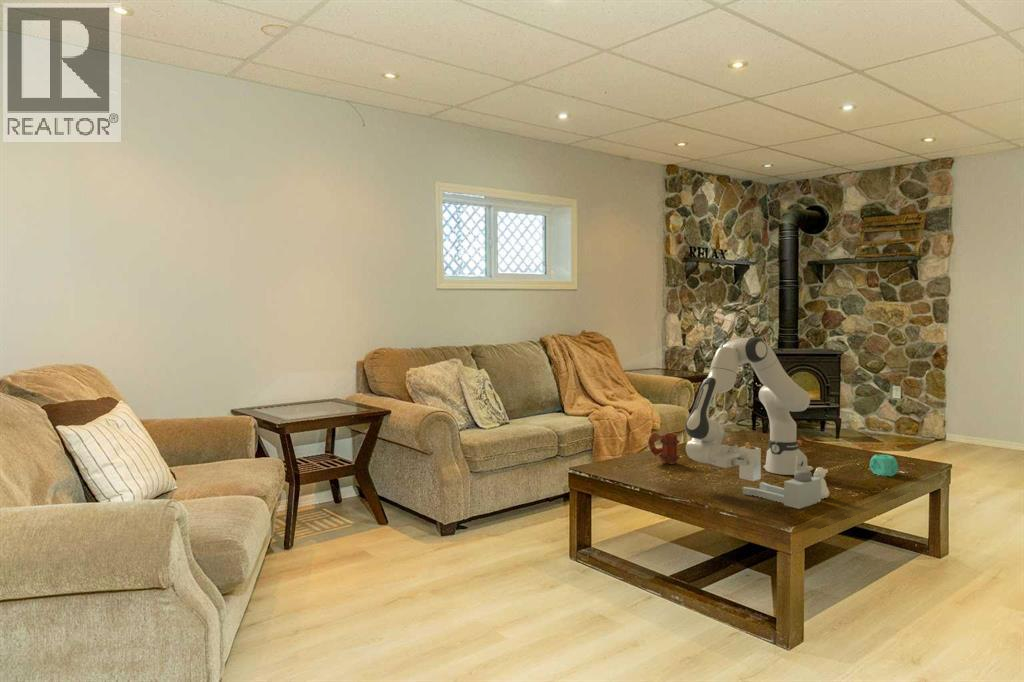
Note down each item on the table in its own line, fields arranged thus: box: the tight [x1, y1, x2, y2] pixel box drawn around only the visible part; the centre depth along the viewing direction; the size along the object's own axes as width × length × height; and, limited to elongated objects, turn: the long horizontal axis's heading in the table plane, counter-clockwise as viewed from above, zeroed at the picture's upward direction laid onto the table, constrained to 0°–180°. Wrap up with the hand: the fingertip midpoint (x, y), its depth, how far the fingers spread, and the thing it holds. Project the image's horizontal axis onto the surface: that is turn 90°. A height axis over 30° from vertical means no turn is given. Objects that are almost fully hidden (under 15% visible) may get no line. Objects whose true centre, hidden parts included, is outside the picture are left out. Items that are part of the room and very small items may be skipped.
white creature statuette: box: [812, 466, 830, 500], centre depth 265 cm, size 10×9×12 cm
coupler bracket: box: [742, 470, 822, 510], centre depth 264 cm, size 15×25×12 cm, turn 36°
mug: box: [648, 431, 680, 465], centre depth 322 cm, size 15×8×15 cm, turn 84°
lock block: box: [738, 441, 762, 482], centre depth 261 cm, size 5×6×14 cm
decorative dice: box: [869, 454, 899, 477], centre depth 299 cm, size 8×8×8 cm
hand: (752, 462), depth 261 cm, fingers closed on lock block, 5 cm apart
